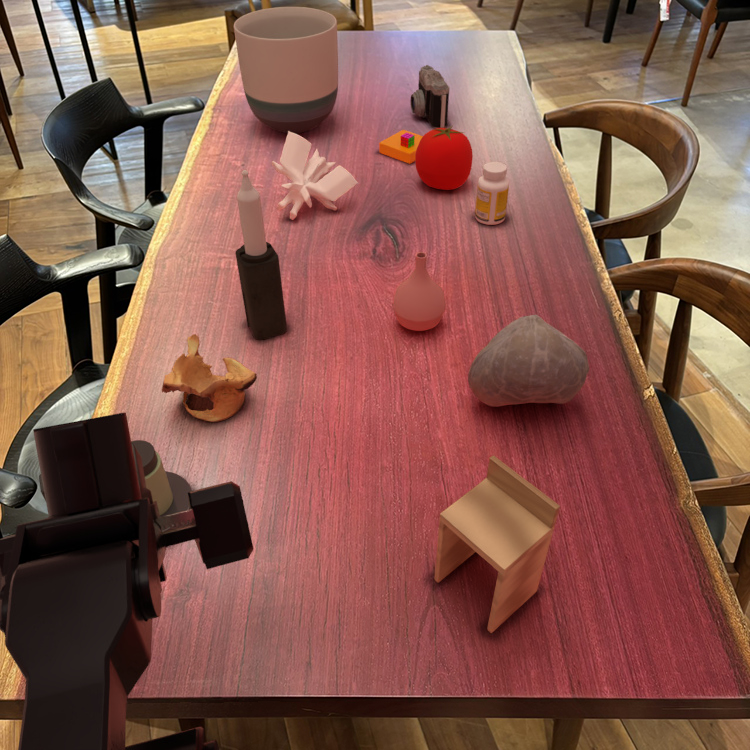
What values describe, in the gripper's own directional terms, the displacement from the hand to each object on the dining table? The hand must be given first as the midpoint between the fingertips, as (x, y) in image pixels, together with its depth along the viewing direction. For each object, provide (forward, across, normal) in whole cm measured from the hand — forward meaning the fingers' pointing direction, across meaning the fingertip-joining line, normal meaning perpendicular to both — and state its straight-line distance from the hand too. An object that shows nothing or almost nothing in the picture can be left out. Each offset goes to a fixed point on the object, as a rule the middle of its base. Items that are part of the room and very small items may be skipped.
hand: (141, 531), depth 64 cm
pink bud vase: (+34, -40, -16) cm, 54 cm away
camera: (+82, -67, -65) cm, 124 cm away
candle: (+38, -18, -20) cm, 47 cm away
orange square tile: (+72, -57, -54) cm, 106 cm away
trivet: (+18, 0, 0) cm, 18 cm away
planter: (+85, -38, -67) cm, 115 cm away
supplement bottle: (+51, -62, -33) cm, 87 cm away
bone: (+29, -9, -11) cm, 32 cm away
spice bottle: (+16, 0, -1) cm, 16 cm away
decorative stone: (+19, -47, -1) cm, 51 cm away
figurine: (+61, -32, -44) cm, 82 cm away
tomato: (+61, -59, -43) cm, 95 cm away
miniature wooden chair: (+3, -32, +14) cm, 35 cm away
